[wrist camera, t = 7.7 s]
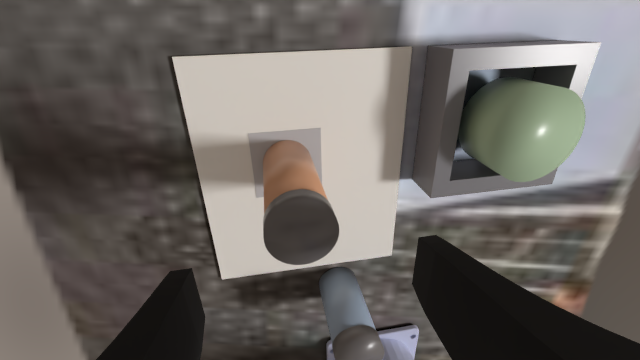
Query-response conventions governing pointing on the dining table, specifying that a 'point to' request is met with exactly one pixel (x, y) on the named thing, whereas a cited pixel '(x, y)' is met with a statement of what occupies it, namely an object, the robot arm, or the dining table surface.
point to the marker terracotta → (295, 206)
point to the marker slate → (348, 317)
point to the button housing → (448, 98)
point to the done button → (521, 127)
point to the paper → (301, 126)
